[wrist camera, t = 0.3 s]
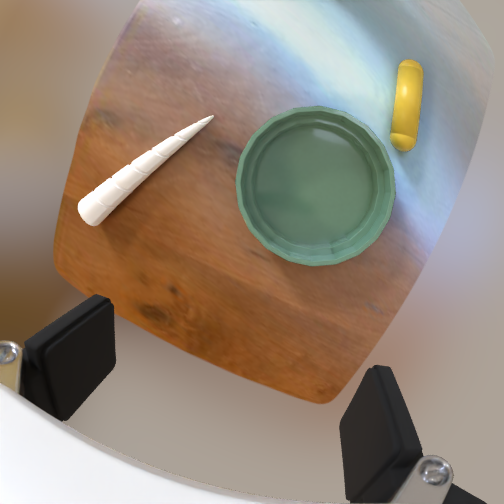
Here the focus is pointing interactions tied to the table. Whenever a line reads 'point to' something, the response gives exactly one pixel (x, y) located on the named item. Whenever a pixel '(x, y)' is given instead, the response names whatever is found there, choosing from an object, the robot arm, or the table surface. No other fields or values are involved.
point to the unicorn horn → (132, 176)
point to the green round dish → (315, 186)
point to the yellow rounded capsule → (407, 105)
